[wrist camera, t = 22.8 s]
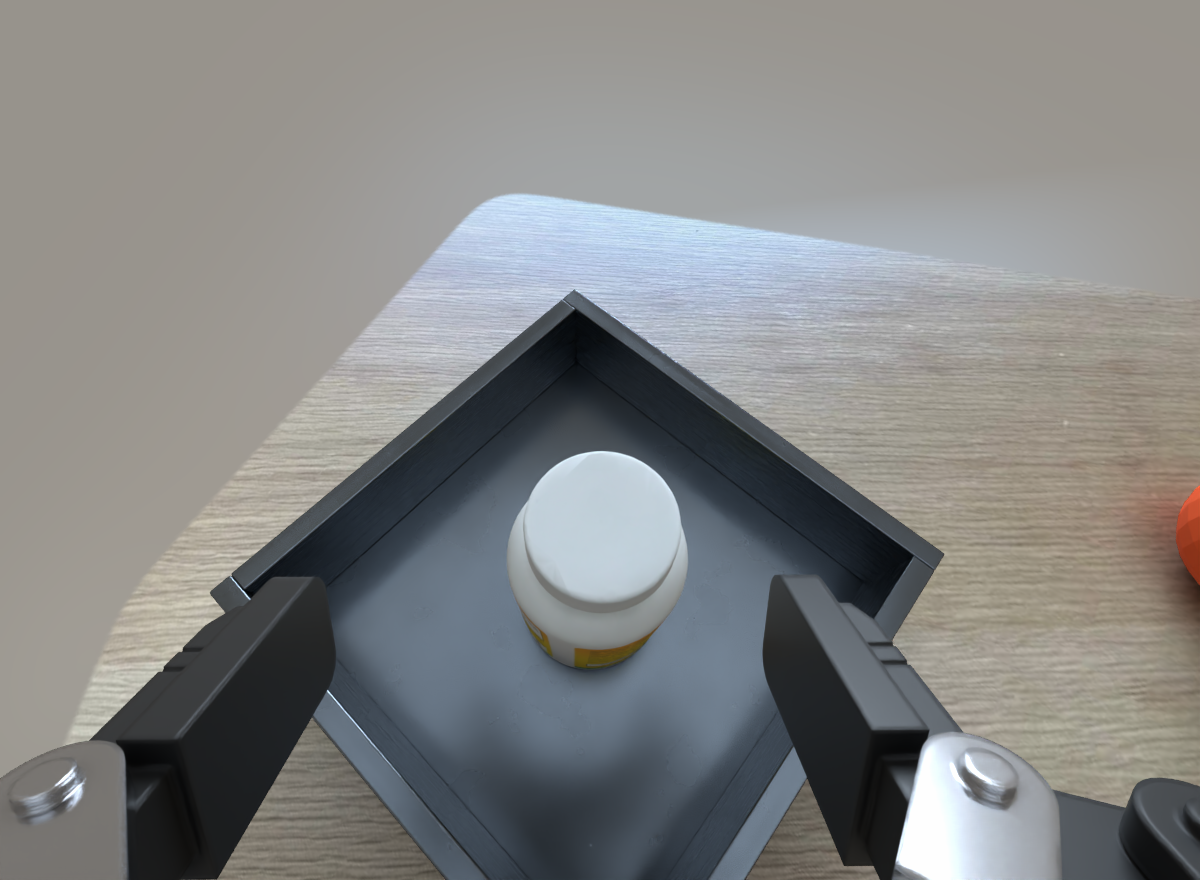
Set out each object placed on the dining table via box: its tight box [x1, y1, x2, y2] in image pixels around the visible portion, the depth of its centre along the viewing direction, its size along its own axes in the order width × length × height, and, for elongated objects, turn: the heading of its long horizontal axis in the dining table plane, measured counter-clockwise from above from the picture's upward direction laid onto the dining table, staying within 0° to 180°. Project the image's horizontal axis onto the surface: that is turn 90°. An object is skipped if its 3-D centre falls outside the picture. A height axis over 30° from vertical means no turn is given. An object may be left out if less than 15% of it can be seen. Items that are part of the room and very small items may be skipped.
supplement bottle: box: [507, 451, 688, 670], centre depth 19 cm, size 5×5×10 cm
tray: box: [210, 289, 944, 880], centre depth 22 cm, size 18×18×5 cm
